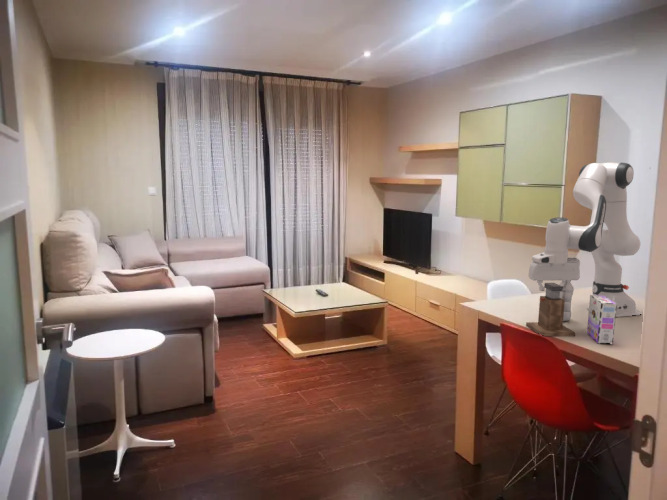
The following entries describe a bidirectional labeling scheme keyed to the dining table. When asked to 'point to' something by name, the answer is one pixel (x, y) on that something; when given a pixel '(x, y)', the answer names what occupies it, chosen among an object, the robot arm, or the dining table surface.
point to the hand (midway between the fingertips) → (552, 290)
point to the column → (552, 290)
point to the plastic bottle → (567, 300)
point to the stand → (550, 318)
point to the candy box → (601, 319)
